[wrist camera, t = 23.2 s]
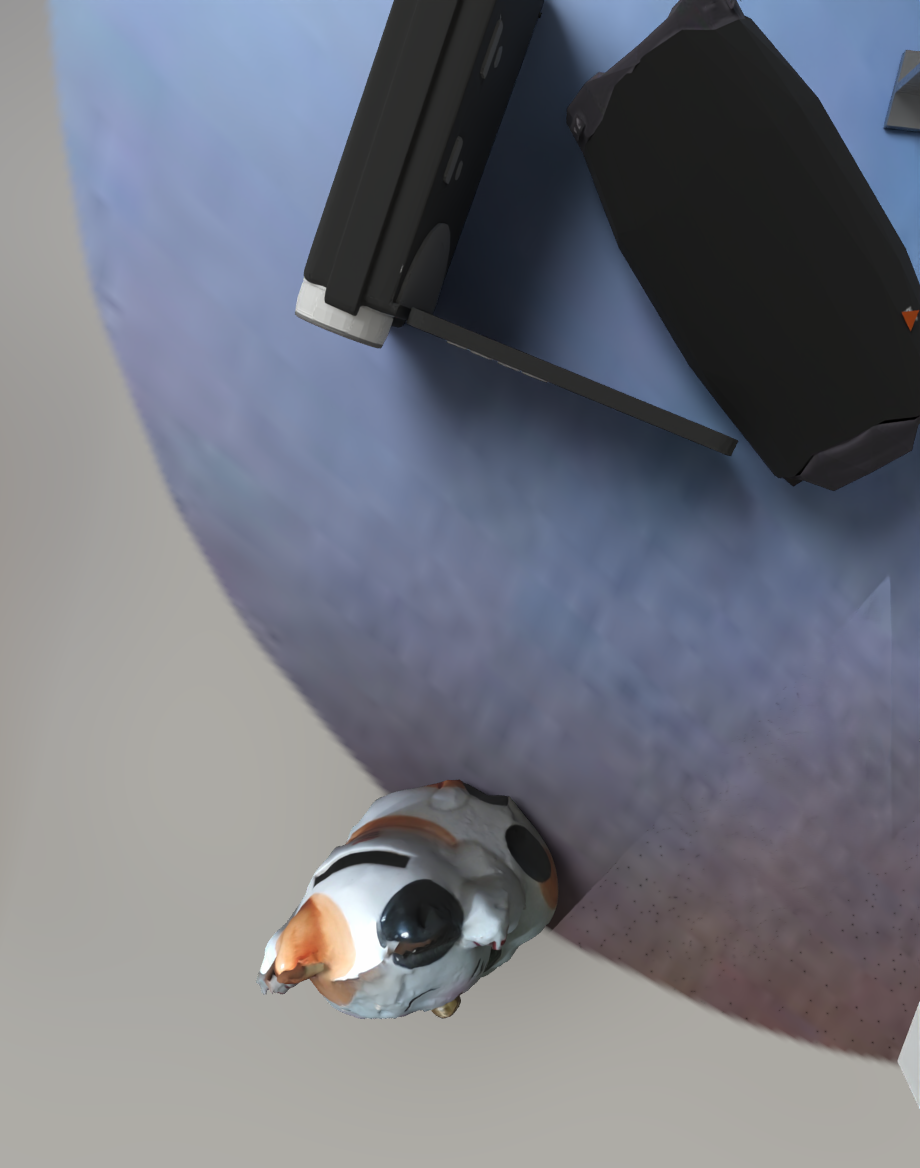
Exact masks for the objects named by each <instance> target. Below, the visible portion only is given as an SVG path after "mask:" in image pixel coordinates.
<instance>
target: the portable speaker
mask: <svg viewBox="0 0 920 1168" xmlns="http://www.w3.org/2000/svg"><path fill="white" fill-rule="evenodd" d="M741 2H742V1H741ZM566 123H567V125H568V127H569V129H570V131H571V132H572V134H573V136H574V138H575V140H576V142H577V143H578V145H579V147H580V149H581V151H582V153H583V155H584V158H585V161H586V163H587V166H588V168H589V171H590V174H591V176H592V179H593V181H594V184H595V187H596V189H597V192H598V194H599V197H600V200H601V202H602V205H603V207H604V210H605V213H606V215H607V218H608V221H609V223H610V226H611V228H612V231H613V234H614V236H615V239H616V241H617V244H618V247H619V249H620V250H621V252H622V254H623V256H624V257H625V259H626V261H627V262H628V264H629V266H630V267H631V269H632V271H633V272H634V274H635V276H636V277H637V279H638V281H639V282H640V284H641V286H642V287H643V289H644V291H645V292H646V294H647V296H648V297H649V299H650V301H651V302H652V304H653V306H654V307H655V309H656V311H657V312H658V314H659V316H660V317H661V319H662V321H663V323H664V324H665V326H666V328H667V329H668V331H669V333H670V334H671V336H672V338H673V339H674V341H675V343H676V344H677V346H678V348H679V349H680V351H681V353H682V354H683V356H684V358H685V359H686V361H687V363H688V364H689V366H690V367H691V369H692V370H693V371H694V373H695V374H696V375H697V377H698V378H699V379H700V380H701V382H702V383H703V384H704V386H705V387H706V388H707V389H708V391H709V392H710V393H711V395H712V396H713V397H714V399H715V400H716V401H717V402H718V404H719V405H720V406H721V408H722V409H723V410H724V412H725V413H726V414H727V415H728V417H729V418H730V419H731V420H732V422H733V423H734V424H735V426H736V427H737V428H738V429H739V431H740V432H741V433H742V434H743V436H744V437H745V438H746V440H747V441H748V442H749V443H750V445H751V446H752V447H753V448H754V450H755V451H756V452H757V453H758V455H759V456H760V457H761V459H762V460H763V461H764V462H765V464H766V465H767V466H768V467H769V469H770V470H771V471H772V473H773V474H774V475H775V476H777V477H778V478H784V479H785V480H786V481H787V482H789V483H790V484H791V485H792V486H795V485H797V484H798V483H800V482H801V481H803V480H804V481H807V482H810V483H812V484H815V485H818V486H821V487H824V488H826V489H829V490H832V491H835V490H837V489H839V488H841V487H843V486H845V485H847V484H849V483H851V482H853V481H855V480H857V479H859V478H861V477H863V476H865V475H867V474H870V473H871V472H873V471H875V470H877V469H879V468H881V467H882V466H884V465H886V464H888V463H890V462H892V461H893V460H895V459H897V458H899V457H901V456H903V455H904V454H906V453H908V452H910V451H912V448H913V444H914V440H915V436H916V432H917V428H918V425H919V424H920V284H919V281H918V279H917V276H916V274H915V271H914V269H913V266H912V263H911V261H910V258H909V256H908V253H907V251H906V248H905V246H904V245H903V243H902V241H901V240H900V238H899V236H898V234H897V233H896V231H895V229H894V227H893V226H892V224H891V222H890V221H889V219H888V217H887V215H886V214H885V212H884V210H883V209H882V207H881V205H880V203H879V202H878V200H877V198H876V196H875V195H874V193H873V191H872V190H871V188H870V186H869V184H868V183H867V181H866V179H865V178H864V176H863V174H862V172H861V171H860V169H859V167H858V166H857V164H856V162H855V160H854V159H853V157H852V155H851V153H850V152H849V150H848V148H847V147H846V145H845V143H844V141H843V140H842V138H841V136H840V135H839V133H838V131H837V129H836V128H835V126H834V124H833V122H832V121H831V119H830V117H829V116H828V114H827V112H826V110H825V109H824V107H823V105H822V104H821V102H820V100H819V98H818V97H817V96H816V95H815V94H814V92H813V91H812V90H811V89H810V88H809V86H808V85H807V84H806V83H805V82H804V81H803V79H802V78H801V77H800V76H799V75H798V73H797V72H796V71H795V70H794V69H793V68H792V66H791V65H790V64H789V63H788V62H787V61H786V59H785V58H784V57H783V56H782V55H781V53H780V52H779V51H778V50H777V49H776V48H775V46H774V45H773V44H772V43H771V42H770V40H769V39H768V38H767V37H766V36H765V35H764V33H763V32H762V31H761V30H760V29H759V27H758V26H757V25H756V24H755V23H754V22H753V20H752V19H751V18H749V17H746V16H744V14H743V12H742V10H741V8H740V6H739V5H738V3H737V1H736V0H680V1H679V2H678V3H677V4H676V5H675V6H674V7H673V8H672V10H671V12H670V14H669V16H668V18H667V19H666V20H665V21H664V22H663V23H662V24H661V25H659V26H658V27H657V28H656V29H655V30H654V31H653V32H652V33H651V34H650V35H649V36H648V37H647V38H646V39H644V40H643V41H642V42H641V43H640V44H639V45H638V46H637V47H636V48H634V49H633V50H632V51H631V52H630V53H628V54H627V55H626V56H625V57H624V58H622V59H621V60H620V61H619V62H618V63H616V64H615V65H614V66H613V67H612V68H610V69H609V70H608V71H607V72H606V73H601V72H598V73H597V74H596V75H595V76H593V77H592V78H591V79H590V80H588V81H587V82H586V83H585V84H584V86H583V87H582V89H581V90H580V91H579V93H578V94H577V95H576V97H575V98H574V99H573V101H572V102H571V104H570V105H569V106H568V108H567V116H566Z"/></svg>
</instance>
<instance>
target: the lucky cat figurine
mask: <svg viewBox="0 0 920 1168" xmlns="http://www.w3.org/2000/svg"><path fill="white" fill-rule="evenodd" d="M557 902H558V880H557V872H556V868H555V864H554V861H553V858H552V856H551V853H550V851H549V849H548V848H547V846H546V844H545V842H544V841H543V839H542V837H541V836H540V835H539V833H538V832H537V831H536V829H535V828H534V827H533V825H532V824H531V823H530V822H529V820H528V819H527V818H526V817H525V816H524V814H523V813H522V812H521V811H520V810H519V809H518V807H517V805H516V804H515V802H514V801H512V800H511V798H510V797H507V796H488V795H486V794H484V793H482V792H481V791H479V790H477V789H475V788H474V787H472V786H470V785H468V784H465V783H463V782H462V781H461V780H446V781H444V782H441V783H436V784H432V785H427V786H423V787H418V788H413V789H407V790H402V791H397V792H394V793H390V794H388V795H386V796H384V797H381V798H379V799H377V800H376V801H375V802H374V803H373V804H372V805H371V807H370V808H369V810H368V811H367V812H366V814H365V815H364V816H363V818H362V819H361V820H360V822H359V823H358V824H357V825H355V826H353V828H352V830H351V832H350V834H349V837H348V840H347V842H346V844H345V845H343V846H338V847H336V848H335V849H334V850H333V851H332V852H331V854H330V855H329V857H328V858H327V859H326V860H325V861H324V862H323V864H322V865H321V866H320V867H319V868H318V869H317V871H316V872H315V874H314V876H313V878H312V879H311V881H310V883H309V885H308V888H307V892H306V894H305V896H304V898H303V899H302V901H301V902H300V904H299V906H298V907H297V908H296V910H295V911H294V913H293V914H292V916H291V917H290V919H289V920H288V921H287V923H286V924H285V925H284V926H283V927H282V928H281V929H279V930H278V931H277V932H276V933H275V934H274V935H273V937H272V938H271V939H270V940H269V942H268V944H267V946H266V949H265V957H264V960H263V963H262V966H261V969H260V971H259V973H258V977H257V980H256V983H258V984H259V985H260V987H261V991H262V993H263V994H266V992H267V990H270V991H271V993H272V994H273V992H274V993H280V994H285V993H286V992H287V991H288V990H289V989H290V988H292V987H294V986H296V985H297V984H298V983H299V982H302V981H304V980H307V979H310V980H311V981H312V983H313V984H314V985H315V987H316V988H317V989H318V991H319V992H320V993H321V994H322V995H323V996H324V998H325V999H326V1000H327V1001H328V1002H329V1003H330V1005H331V1006H333V1007H334V1008H335V1009H337V1010H339V1011H340V1012H342V1013H345V1014H348V1015H351V1016H354V1017H356V1018H360V1019H365V1018H371V1019H372V1018H380V1019H382V1018H385V1019H386V1018H394V1019H395V1018H397V1017H402V1016H406V1015H408V1014H410V1013H413V1012H416V1011H418V1010H423V1011H424V1012H425V1011H428V1010H431V1011H432V1012H433V1013H434V1014H435V1015H436V1016H438V1017H440V1018H447V1017H450V1016H451V1015H453V1013H455V1011H456V1010H457V1008H458V1007H459V1005H460V1003H461V999H460V995H461V994H462V993H465V992H466V991H468V990H469V989H470V988H471V987H472V986H473V985H474V984H475V983H476V982H477V981H478V980H479V979H480V978H481V977H484V976H486V975H488V974H489V973H491V972H492V971H494V970H495V969H496V968H497V967H498V966H501V965H502V964H503V963H505V962H507V961H508V960H509V959H510V958H511V957H512V955H513V954H514V952H515V951H516V949H517V948H518V947H519V946H520V945H521V944H523V943H525V942H527V941H529V940H530V939H532V938H533V937H535V936H536V935H537V934H539V933H540V932H541V931H542V930H543V928H544V927H545V925H547V924H548V923H549V922H550V920H551V919H552V917H553V914H554V912H555V909H556V907H557Z"/></svg>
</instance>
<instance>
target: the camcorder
mask: <svg viewBox="0 0 920 1168" xmlns="http://www.w3.org/2000/svg"><path fill="white" fill-rule="evenodd" d="M543 2H544V0H394V2H393V5H392V8H391V11H390V14H389V17H388V20H387V23H386V26H385V29H384V32H383V35H382V38H381V41H380V44H379V47H378V50H377V53H376V56H375V59H374V62H373V65H372V68H371V71H370V74H369V77H368V80H367V83H366V86H365V89H364V92H363V95H362V98H361V101H360V104H359V107H358V110H357V113H356V116H355V119H354V122H353V125H352V128H351V131H350V134H349V137H348V140H347V143H346V146H345V149H344V152H343V155H342V158H341V161H340V163H339V166H338V169H337V172H336V175H335V178H334V181H333V184H332V187H331V190H330V193H329V196H328V199H327V202H326V205H325V208H324V211H323V214H322V217H321V220H320V223H319V226H318V229H317V232H316V235H315V238H314V241H313V244H312V247H311V250H310V254H309V257H308V260H307V263H306V266H305V269H304V280H303V281H304V282H303V283H302V286H301V289H300V292H299V295H298V299H297V305H296V311H295V315H296V316H298V317H299V318H301V319H303V320H305V321H307V322H309V323H311V324H314V325H316V326H318V327H321V328H323V329H325V330H328V331H330V332H333V333H335V334H338V335H340V336H343V337H346V338H348V339H351V340H354V341H356V342H359V343H362V344H365V345H368V346H371V347H375V348H382V346H383V344H384V342H385V340H386V338H387V336H388V334H389V331H390V328H391V326H394V327H402V326H403V325H404V323H405V321H406V320H407V322H406V323H407V324H409V325H411V326H413V327H415V328H418V329H420V330H423V331H425V332H428V333H430V334H432V335H435V336H437V337H440V338H442V339H445V340H447V343H450V344H452V345H455V346H457V347H460V348H462V349H465V350H467V349H469V350H471V351H470V352H472V353H474V354H477V355H479V356H481V357H484V358H486V359H489V360H492V359H493V360H496V361H498V363H499V364H501V365H504V366H506V367H508V368H511V369H513V370H516V371H519V372H520V371H523V372H522V373H523V374H526V375H528V376H530V377H533V378H535V379H538V380H540V381H543V382H550V383H552V384H554V385H557V386H559V387H562V388H564V389H567V390H569V391H571V392H574V393H576V394H579V395H581V396H584V397H586V398H589V399H591V400H593V401H596V402H598V403H601V404H603V405H606V406H608V407H610V408H613V409H615V410H618V411H620V412H623V413H625V414H628V415H630V416H632V417H635V418H637V419H640V420H642V421H645V422H647V423H650V424H652V425H654V426H657V427H659V428H662V429H664V430H667V431H669V432H671V433H674V434H676V435H679V436H681V437H684V438H686V439H689V440H691V441H693V442H696V443H698V444H701V445H703V446H706V447H708V448H710V449H713V450H715V451H718V452H720V453H723V454H725V455H728V456H731V455H732V453H733V451H734V449H735V447H736V445H737V443H738V440H736V439H733V438H731V437H729V436H727V435H724V434H722V433H719V432H717V431H714V430H712V429H710V428H707V427H705V426H702V425H700V424H697V423H695V422H693V421H690V420H688V419H685V418H683V417H680V416H678V415H675V414H673V413H671V412H668V411H666V410H663V409H661V408H658V407H656V406H653V405H651V404H649V403H646V402H644V401H641V400H639V399H636V398H634V397H632V396H629V395H627V394H624V393H622V392H619V391H617V390H614V389H612V388H610V387H607V386H605V385H602V384H600V383H597V382H595V381H592V380H590V379H588V378H585V377H583V376H580V375H578V374H575V373H573V372H570V371H568V370H566V369H563V368H561V367H558V366H556V365H553V364H551V363H548V362H546V361H544V360H541V359H539V358H536V357H534V356H531V355H529V354H527V353H524V352H522V351H519V350H517V349H514V348H512V347H509V346H507V345H505V344H502V343H500V342H497V341H495V340H492V339H490V338H487V337H485V336H483V335H480V334H478V333H475V332H473V331H470V330H468V329H465V328H463V327H461V326H458V325H456V324H453V323H451V322H448V321H446V320H443V319H441V318H439V317H436V316H434V315H433V313H434V310H435V307H436V304H437V301H438V298H439V294H440V291H441V287H442V285H443V282H444V279H445V276H446V273H447V271H448V268H449V265H450V262H451V260H452V257H453V254H454V251H455V248H456V246H457V243H458V240H459V237H460V234H461V232H462V229H463V226H464V223H465V221H466V218H467V215H468V212H469V209H470V207H471V204H472V201H473V198H474V196H475V193H476V190H477V187H478V184H479V182H480V179H481V176H482V173H483V170H484V168H485V165H486V162H487V159H488V157H489V154H490V151H491V148H492V145H493V143H494V140H495V137H496V134H497V132H498V129H499V126H500V123H501V120H502V118H503V115H504V112H505V109H506V106H507V104H508V101H509V98H510V95H511V93H512V90H513V87H514V84H515V81H516V79H517V76H518V73H519V70H520V67H521V65H522V62H523V59H524V56H525V54H526V51H527V48H528V45H529V42H530V40H531V37H532V34H533V31H534V29H535V26H536V23H537V20H538V18H540V17H541V14H542V13H540V12H541V9H542V5H543Z"/></svg>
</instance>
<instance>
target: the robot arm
mask: <svg viewBox="0 0 920 1168" xmlns="http://www.w3.org/2000/svg"><path fill="white" fill-rule="evenodd" d="M898 1064H899V1066H900V1068H901V1070H902V1072H903V1074H904V1077H905V1079H906V1081H907V1083H908V1085H909V1087H910V1089H911V1091H912V1094H913V1096H914V1098H915V1100H916V1102H917V1104H918V1107H919V1109H920V1002H919V1005H918V1007H917V1010H916V1013H915V1015H914V1018H913V1021H912V1023H911V1026H910V1029H909V1032H908V1034H907V1037H906V1040H905V1042H904V1045H903V1048H902V1051H901V1053H900V1056H899V1059H898Z"/></svg>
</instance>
